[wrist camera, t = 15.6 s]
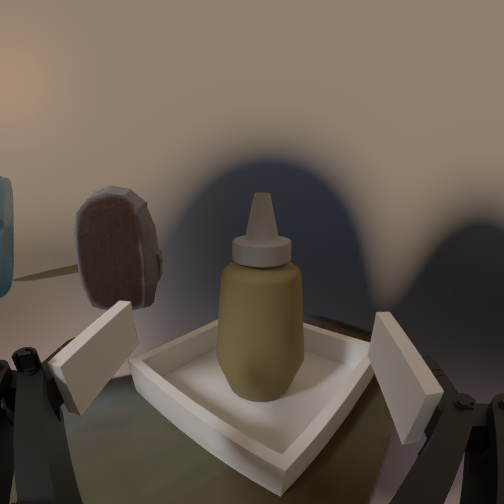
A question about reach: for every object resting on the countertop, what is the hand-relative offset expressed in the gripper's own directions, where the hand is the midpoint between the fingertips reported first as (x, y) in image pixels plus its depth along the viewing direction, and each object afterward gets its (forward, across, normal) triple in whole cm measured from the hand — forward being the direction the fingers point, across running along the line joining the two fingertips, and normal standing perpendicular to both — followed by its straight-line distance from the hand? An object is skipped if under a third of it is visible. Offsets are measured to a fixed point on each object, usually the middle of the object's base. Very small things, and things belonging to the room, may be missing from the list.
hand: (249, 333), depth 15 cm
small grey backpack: (+27, -24, -13) cm, 39 cm away
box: (+10, 0, -12) cm, 16 cm away
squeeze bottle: (+10, 0, -12) cm, 15 cm away
